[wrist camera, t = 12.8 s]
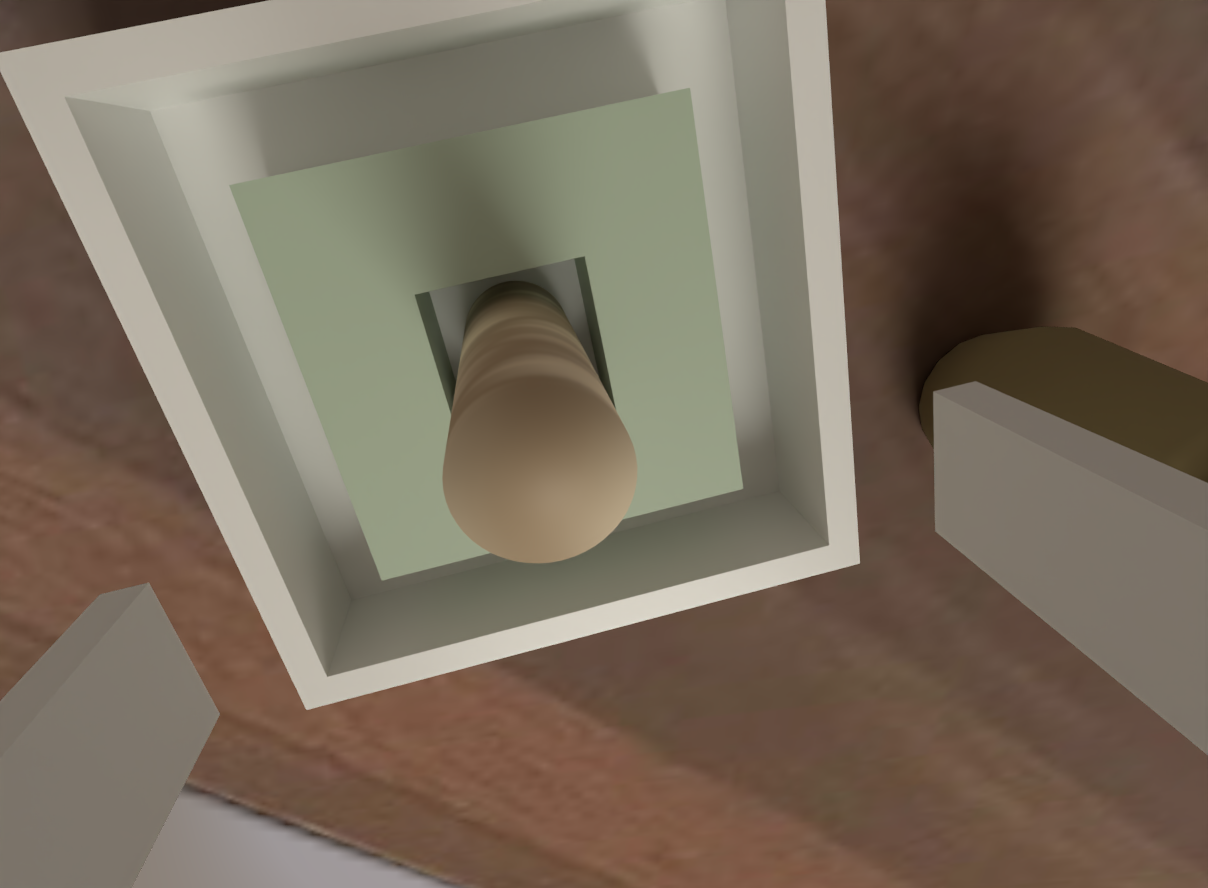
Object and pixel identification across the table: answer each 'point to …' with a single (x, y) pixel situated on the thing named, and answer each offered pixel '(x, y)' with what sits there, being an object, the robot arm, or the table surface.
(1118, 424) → the squeeze bottle
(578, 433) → the peg
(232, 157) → the open box
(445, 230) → the bore plate
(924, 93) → the table surface
